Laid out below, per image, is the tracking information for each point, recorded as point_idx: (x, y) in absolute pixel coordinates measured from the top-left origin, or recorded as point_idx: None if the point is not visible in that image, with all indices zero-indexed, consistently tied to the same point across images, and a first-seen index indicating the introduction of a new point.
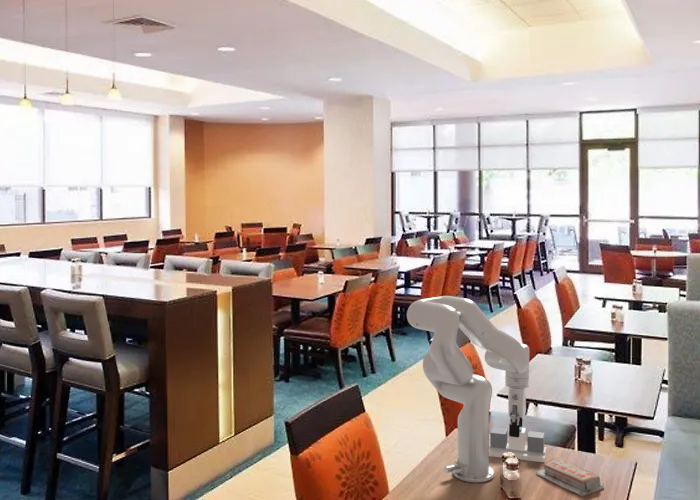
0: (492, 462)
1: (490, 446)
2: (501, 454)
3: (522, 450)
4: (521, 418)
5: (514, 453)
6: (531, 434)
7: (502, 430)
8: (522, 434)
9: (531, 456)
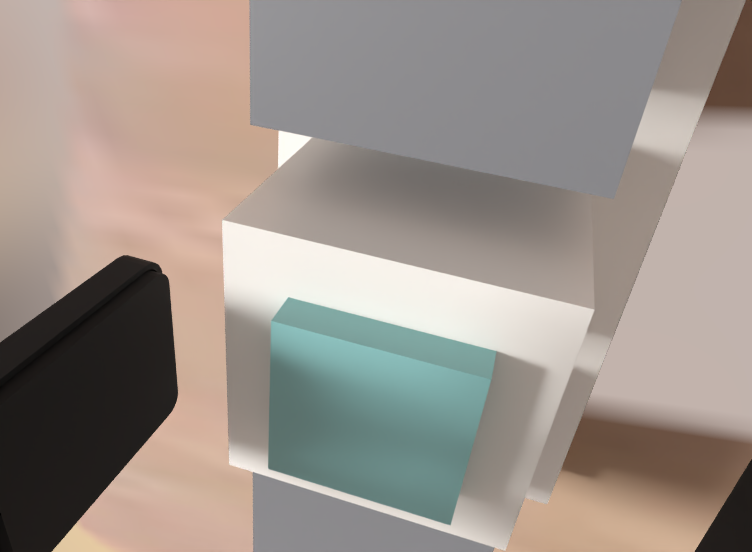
0: (726, 463)
1: None
2: (588, 389)
3: None
4: (17, 403)
5: (600, 264)
6: (459, 82)
7: (336, 530)
8: (579, 322)
9: (731, 23)
